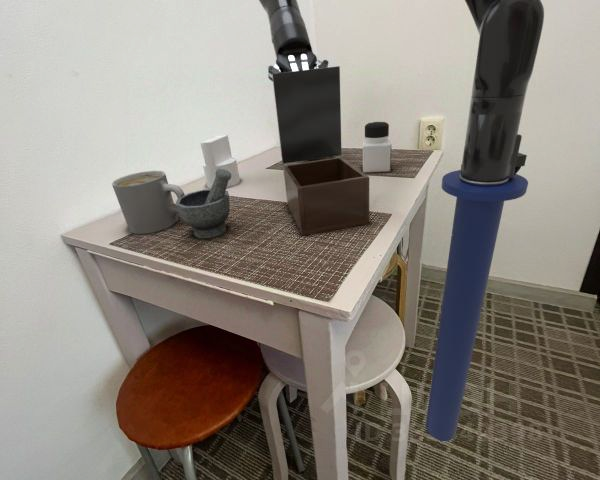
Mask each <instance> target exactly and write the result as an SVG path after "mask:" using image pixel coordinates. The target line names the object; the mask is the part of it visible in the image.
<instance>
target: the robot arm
mask: <svg viewBox="0 0 600 480" xmlns="http://www.w3.org/2000/svg"><path fill="white" fill-rule="evenodd" d="M258 1H259V4H260V5H261V7H262V8H263V10H264V12H265V13H266V15H267V18H268V23H269V30H270V37H271V43H272V46H273V49H274V53H275V57H276V59H275V64H274V65H268V67H267V74H268V75H267V76H268V77H267V78H268V80H269V81H271V82H273V78H272V73H281V72H290V71H299V70H309V69H318V68H327V67H329V60H328V59H324V60H322V61H321V60H319V59H318V57H317V55H316V54H315V53H314V52H313V47H312V44H311V40H310V37H309V34H308V30H307V27H306V23H305V21H304V18H303V16H302V14H301V9H300V6H299V3H298V0H258ZM464 2H465V4H466V6H467V8H468V10H469V12H470V15H471V17H472V20H473V22H474V25H475V27H476V30H477V33H478V35H479V39H478V46H477V47H478V48H477V53H476V60H475V68H474V74H473V80H472V88H471V96H470V102H469V103H470V105H469V110H468V117H467V125H466V131H465V139H464V147H463V155H462V161H461V164H460V170H461V174H460V181H462V182H464V183H466V184H469V185H474V186H484V187H490V186H500V185H504V184H506V183H507V182H512V180H513V176H515V174H518V172H519V171H520V170H521V169H522V167H525V165H526V161H527V157H528V155H527V154H524V153H521V152H519V151H520V147H521V142H522V134H519V129H520V125H521V120H522V119H521V118H522V115H523V108H524V105H525V99H526V95H527V91H528V87H529V83H530V80H531V78H532V74H533V71H534V67H535V63H536V58H537V54H538V50H539V45H540V42H541V37H542V32H543V31H542V30H543V27H544V22H545V21H544V20H545V7H544V5H543V3H542V1H541V0H464Z"/></svg>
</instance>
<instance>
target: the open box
mask: <svg viewBox="0 0 600 480" xmlns="http://www.w3.org/2000/svg"><path fill="white" fill-rule="evenodd" d="M282 170H283V179H284V186H285V187H284V188H285V194H286V203H287V207H288V209H289V211H290V213H291V215H292V216H293V219H294V221H295V223H296V225H297V227H298V230H299V231H300V234H301V235H302V236H305V235H311V234H318V233H322V232H328V231H329V232H330V231H334V230H339V229H345V228H351V227H357V226H361V225H362V226H363V225H369V224H370V176H369V175H368V174H366V173H364V172H363V170H360V169H359V168H357V167H356V166H355V165H353V164H352V163H350V162H349V161H348V160H346V159H344V158H343V157H342V156H337V157H333V158H330V159H324V160H312V161H311V160H309V161H304V162H296V163H289V164H282Z"/></svg>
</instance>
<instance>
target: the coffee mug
mask: <svg viewBox="0 0 600 480" xmlns="http://www.w3.org/2000/svg"><path fill="white" fill-rule="evenodd" d="M111 186H112V188H113V192H114V194H115V196H116V200H117V201H118V204H119V207H120V210H121V213H122V214H123V217H124V221H125V223H126V225H127V229H128V230H129V232H130V233H132V234H135V235H145V234H146V235H147V234H153V233H156V232H160V231H162V230H166V229H168V228H170V227H172V226H173V225H175V224H176V223H177V222H178V220H179V214H178V212H177V209H176V206H175V204H176V202H174V198H173V196H172V193H174V194H175V195H176V198H177V199H178V198H180V197H182V196H184V195H186V194H185V192H184V190H183V189H182V187H180V186H179V185H177V184H172V183H169V182H168V178H167V175H166V172H165V171H163V170H147V171H145V170H144V171H139V172H135V173H130V174H127V175H124V176H121V177H119V178H117V179H115V180H113V181H112V183H111Z"/></svg>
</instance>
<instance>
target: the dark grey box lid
mask: <svg viewBox="0 0 600 480" xmlns="http://www.w3.org/2000/svg"><path fill="white" fill-rule="evenodd" d="M340 68H341V66H340V65H337V66H328V67H327V68H318V69H316V68H314V69H309V70H299V71H290V72H281V73H272V78H273V81H272V87H273V95H274V102H275V110H276V111H275V112H276V121H277V128H278V129H277V130H278V139H279V146H280V156H281V163H282V165H286V164H292V163H299V162H303V161H304V162H306V161H311V160H312V161H313V160H315V159H319V158H325V157H332V156H334V157H340V156H342V113H341V111H342V110H341V108H342V107H341V69H340Z"/></svg>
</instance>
